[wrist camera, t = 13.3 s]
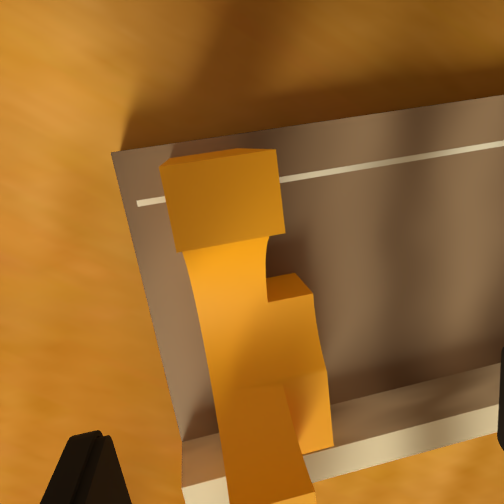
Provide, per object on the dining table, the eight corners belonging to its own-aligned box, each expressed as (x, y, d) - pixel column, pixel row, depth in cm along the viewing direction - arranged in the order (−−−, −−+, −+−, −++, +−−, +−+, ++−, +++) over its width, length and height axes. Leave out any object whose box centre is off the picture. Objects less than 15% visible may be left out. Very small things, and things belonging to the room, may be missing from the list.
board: (608, 80, 19) (735, 59, 14) (574, 341, 23) (663, 386, 19) (119, 151, 16) (94, 153, 11) (188, 437, 20) (189, 516, 16)
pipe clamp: (308, 395, 18) (371, 522, 12) (220, 416, 18) (240, 561, 11) (280, 141, 15) (350, 138, 8) (169, 158, 14) (158, 166, 8)
